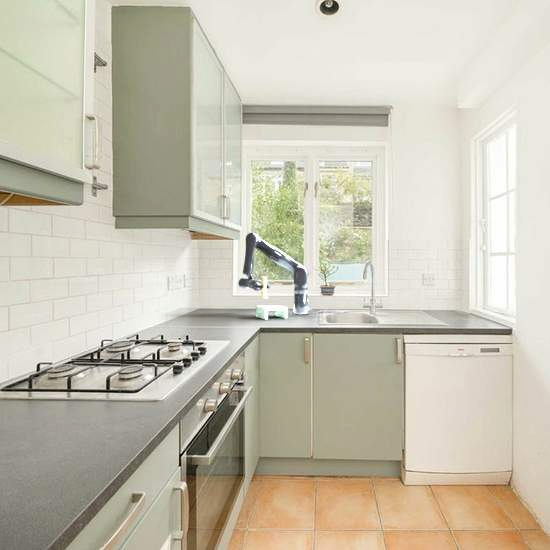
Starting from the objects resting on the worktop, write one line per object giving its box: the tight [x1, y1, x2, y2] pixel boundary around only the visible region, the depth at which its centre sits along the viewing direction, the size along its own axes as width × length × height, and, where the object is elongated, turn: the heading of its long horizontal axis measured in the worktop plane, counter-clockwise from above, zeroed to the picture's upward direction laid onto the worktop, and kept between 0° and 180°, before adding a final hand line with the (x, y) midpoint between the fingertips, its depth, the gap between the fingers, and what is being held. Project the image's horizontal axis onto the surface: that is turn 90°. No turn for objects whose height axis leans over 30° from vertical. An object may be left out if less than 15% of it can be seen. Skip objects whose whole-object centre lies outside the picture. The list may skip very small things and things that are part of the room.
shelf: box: [255, 304, 289, 320], centre depth 299 cm, size 16×14×7 cm
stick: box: [259, 275, 269, 299], centre depth 300 cm, size 5×5×14 cm
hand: (265, 286), depth 298 cm, fingers closed on stick, 3 cm apart
